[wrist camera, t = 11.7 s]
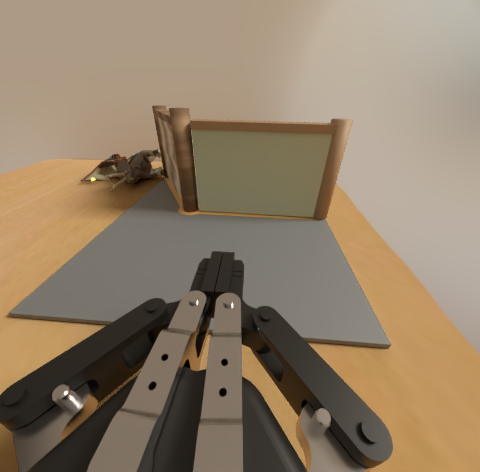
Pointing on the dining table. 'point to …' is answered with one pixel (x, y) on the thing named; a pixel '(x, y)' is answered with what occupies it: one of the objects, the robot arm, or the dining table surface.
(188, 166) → the post
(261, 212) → the fence gate
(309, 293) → the card
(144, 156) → the figurine
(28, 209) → the dining table surface
